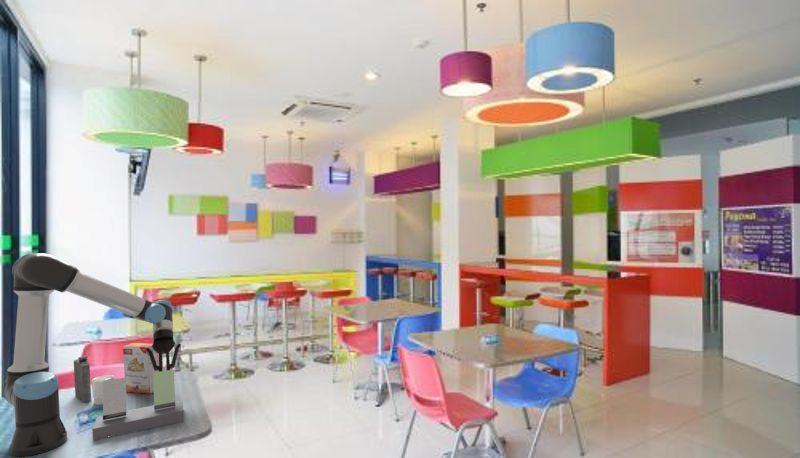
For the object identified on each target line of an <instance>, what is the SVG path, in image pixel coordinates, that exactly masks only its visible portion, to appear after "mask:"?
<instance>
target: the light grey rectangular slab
mask: <svg viewBox="0 0 800 458" xmlns="http://www.w3.org/2000/svg"><path fill="white" fill-rule="evenodd" d="M126 411H127V392H126V377H125V376H124V377H119V378H114V379H113V380H107V381H103V404H102V415H103V420H107V419H112V418H117V417H122V416H126Z"/></svg>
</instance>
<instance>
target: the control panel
mask: <svg viewBox="0 0 800 458" xmlns="http://www.w3.org/2000/svg"><path fill="white" fill-rule="evenodd" d="M184 421H185V417H184V403H183V399H180V400H179V399H178V400H175V406H172V407H167V408H162V409H157V410H154V404H153V405H150V406H145V407H139V408H134V409H128V410H126V416H122V417H117V418H112V419H107V420H103V414H102V415H97V416H96V419H95V421H94V424H93V426H92V432H91V433H92V441H93V440H94V441H98V440H97V439H99V440H102V439H101V438H103V439H106V438H105V437H108V436H113V435H117V436H121V435H120V434H122V435H126V434H125V433H127V434H131V433H134V431H136V432H140V431H145V430H148V429H149V430H150V429H155V428H158V427H162V426H163V427H164V426H169V425H172V424H177V423H182V422H184ZM130 432H131V433H130ZM113 437H114V436H113ZM108 438H109V437H108Z"/></svg>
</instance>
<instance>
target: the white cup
mask: <svg viewBox="0 0 800 458" xmlns="http://www.w3.org/2000/svg"><path fill="white" fill-rule="evenodd" d="M113 379H115V375H114V374H105V375H100V376H97V377H94V378H92V379H91V390H92V395H93V401H94V405H96V406H97V405H99V406H101V405H103V381H107V380H113Z"/></svg>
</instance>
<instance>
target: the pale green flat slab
mask: <svg viewBox="0 0 800 458" xmlns="http://www.w3.org/2000/svg"><path fill="white" fill-rule="evenodd" d="M153 384H154V392H153V405H154V410H157V409H162V408H167V407H172V406H175V401H176V390H175V388H176V386H175V385H176V384H175V369H174V368H172V369H170V370H167V371H161V372H155V373H153Z"/></svg>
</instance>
